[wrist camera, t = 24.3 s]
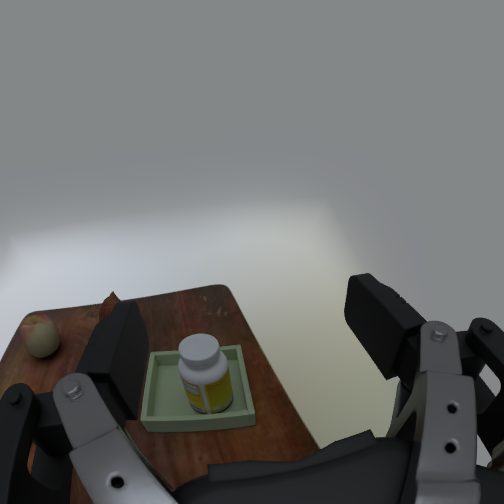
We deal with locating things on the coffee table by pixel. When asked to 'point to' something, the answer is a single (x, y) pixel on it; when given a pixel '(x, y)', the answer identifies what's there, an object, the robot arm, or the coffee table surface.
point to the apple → (39, 335)
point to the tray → (176, 401)
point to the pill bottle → (205, 374)
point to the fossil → (108, 305)
